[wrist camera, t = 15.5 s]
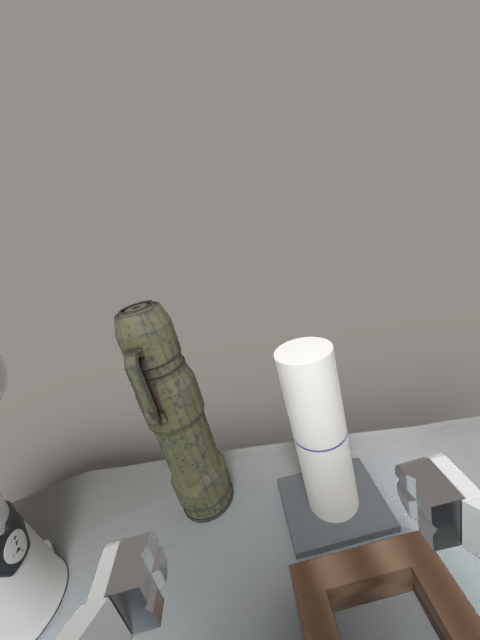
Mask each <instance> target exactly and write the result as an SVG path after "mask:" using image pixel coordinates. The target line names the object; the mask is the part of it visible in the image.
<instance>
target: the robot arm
mask: <svg viewBox="0 0 480 640" xmlns="http://www.w3.org/2000/svg"><path fill="white" fill-rule="evenodd" d="M6 385H7V369H6V365H5V363H4V360H3V358H2V357H1V355H0V400H1V398H2V396H3V394H4V391H5V389H6ZM395 474H396V475H397V477H398V478H399V481H398V483H397V491H398V494H399V497H400V500H401V502H402V504H403V506H404V508H405V510H406V511H407V513H408V514H409V516H410V517H412V518H414V519H416V520H417V521H418V525H419V531H420V532H421V534H422V535H423V537H424V538H425V540H426V541H427V542H428V544H429V545H430V547H431V548H432V550H433V551H438V550H442V549H446V548H451V547H455V546H459V545H462V547H464V548H465V549H467V550H468V551H469V552H471V553H472V554H474V555H475V556H477V557H478V558H480V489H479V488H478V487H477V486H476V485H475V484H474V483H473V482H472V481H471V480H470V479H469V478H468V477H467V476H466V475H465V474H464V473H463V472H462V471H461V470H460V469H459V468H458V467H457V466H456V465H455V464H454V463H452V462H451V461H450V460H449V459H448V458H447V457H446V456H445V455H444V454H442V453H438V454H435V455H431V456H427V457H423V458H419V459H416V460H412V461H409V462H405V463H402V464H398V465H396V467H395ZM157 541H158V538H157V536H156V535H155V533H154V532H151V533H147V534H143V535H139V536H134V537H130V538H126V539H122V540H119V541H115V542H111V543H107V544H106V546H105V547H104V549H103V551H102V554H101V557H100V561H99V564H98V567H97V570H96V573H95V576H94V579H93V582H92V585H91V588H90V591H89V594H88V597H87V600H86V603H84V604H81V605H80V606H79V607H78V609H77V610H76V611H75V613H74V614H73V615H72V616H71V618H70V619H69V620H68V622H67V623H66V624H65V626H64V627H63V628H62V629H61V631H60V632H59V633H58V635H57V636H56V637H55V638H54V640H132V638H133V636H132V635H135V634H138V633H142V632H145V631H148V630H151V629H154V628H158V627H161V620H162V612H163V604H164V599H163V597H162V595H161V593H160V592H161V590H162V589H163V587H164V586H165V584H166V579H167V560H166V556H165V553H164V551H163V548H161V547H159V546H157ZM67 577H68V572H67V566H66V564H65V562H64V561H63V559H61V558H60V557H59V556H57V555H56V554H55V553H54V549H53V545H52V543H51V542H50V541H49V540H47V539H46V540H42V539H41V538H40V536H39V535H38V534H37V533H36V532H35V531H34V530H33V529H32V528H31V527H30V526H29V525H28V524H27V523H26V522H25V521H24V520H23V518H22V517H21V515H20V514H19V511H18V509H17V508H16V507H14V506H13V505H12V503H10V502H9V501H6V500H4V499H3V497H2V496H1V494H0V640H36V639H37V637H38V636H39V635H40V634H41V632H42V631H43V630H44V628H45V627H46V625H47V624H48V623H49V621H50V620H51V618H52V616H53V615H54V613H55V611H56V609H57V607H58V606H59V603H60V601H61V599H62V597H63V594H64V591H65V588H66V584H67Z"/></svg>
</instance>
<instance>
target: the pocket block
mask: <svg viewBox="0 0 480 640" xmlns="http://www.w3.org/2000/svg"><path fill="white" fill-rule="evenodd" d="M289 568H290V572H291V577H292V581H293V586H294V590H295V595H296V600H297V604H298V609H299V613H300V618H301V622H302V627H303V631H304V636H305V640H341V639H340V636H339V633H338V629H337V626H336V623H335V620H334V616H333V613H332V612H335V611H339V610H342V609H346V608H350V607H354V606H357V605H361V604H365V603H368V602H372V601H376V600H380V599H383V598H387V597H391V596H394V595H398V594H402V593H406V592H409V591H413V590H414V592H415V594H416V596H417V598H418V600H419V601H420V603H421V605H422V607H423V609H424V611H425V612H426V614H427V616H428V618H429V620H430V622H431V624H432V625H433V627H434V629H435V631H436V633H437V635H438V637H439V638H440V640H480V617H479V616H478V614H477V613H476V611H475V610H474V608H473V607H472V605H471V604H470V602H469V601H468V599H467V598H466V596H465V595H464V593H463V592H462V590H461V589H460V587H459V586H458V584H457V583H456V581H455V580H454V578H453V577H452V575H451V574H450V572H449V571H448V569H447V568H446V566H445V565H444V563H443V562H442V560H441V559H440V557H439V556H438V554H437V553H436V551H433V550H432V548H431V547H430V545H429V544H428V542H427V541H426V540H425V538H424V537H423V535H422V534H421V532H420V531H415V532H411V533H408V534H404V535H400V536H396V537H393V538H389V539H385V540H382V541H378V542H374V543H370V544H367V545H363V546H359V547H356V548H352V549H348V550H344V551H341V552H337V553H333V554H330V555H326V556H322V557H318V558H315V559H311V560H307V561H304V562H300V563H296V564H292V565H289Z"/></svg>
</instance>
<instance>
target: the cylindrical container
mask: <svg viewBox="0 0 480 640" xmlns="http://www.w3.org/2000/svg"><path fill="white" fill-rule="evenodd" d="M274 359H275V363H276V367H277V372H278V376H279V380H280V384H281V389H282V392H283V397H284V401H285V405H286V409H287V413H288V418H289V422H290V426H291V430H292V434H293V438H294V442H295V447H296V451H297V455H298V459H299V463H300V468H301V472H302V476H303V480H304V484H305V488H306V493H307V497H308V501H309V505H310V508H311V510H312V511H313V513H314V514H315V515H316V516H317V517H318V518H320V519H322V520H324V521H326V522H330V523H341V522H345V521H347V520H349V519H350V518H352V517H353V516H354V515H355V514H356V512H357V510H358V507H359V499H358V493H357V487H356V481H355V475H354V469H353V463H352V457H351V451H350V445H349V439H348V433H347V428H346V421H345V415H344V409H343V403H342V397H341V392H340V386H339V379H338V373H337V367H336V362H335V355H334V349H333V345H332V343H331V342H330V341H328V340H327V339H324V338H320V337H303V338H298V339H294V340H291V341H288V342H286V343H284V344H282V345H281V346H279V347H278V348H277V349H276V350H275V352H274Z"/></svg>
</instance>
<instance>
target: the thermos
mask: <svg viewBox="0 0 480 640" xmlns="http://www.w3.org/2000/svg"><path fill="white" fill-rule="evenodd" d="M114 322H115V336H116V339H117V342H118V344H119V347H120V349H121V351H122V354H123V356H124V364H125V371H126V373H127V376H128V378H129V381H130V383H131V385H132V387H133V390H134V392H135V396H136V399H137V402H138V404H139V406H140V409H141V411H142V413H143V416H144V418H145V420H146V423H147V425H148V427H149V429H150V430H151V431H153V432H154V433H155V435H156V437H157V440H158V442H159V445H160V447H161V450H162V452H163V454H164V457H165V459H166V461H167V464H168V466H169V469H170V471H171V473H172V475H171V483H172V485H173V488H174V490H175V492H176V495H177V497H178V499H179V501H180V503H181V505H182V507H184V511H185V513H186V515H187V517H188V518H190V519H191V520H192V521H195V522H199V523H202V522H209V521H211V520H214V519H216V518H218V517H219V516H220V515H222V514H223V513H224V512H225V511H226V510H227V508H228V507H229V506H230V504H231V501H232V499H233V488H232V485H231V482H230V476H229V473H228V470H227V467H226V464H225V461H224V458H223V456H222V454H221V453H220V452H219V451H218V450H217V448H216V445H215V442H214V439H213V436H212V434H211V431H210V428H209V425H208V422H207V419H206V416H205V413H204V401H203V398H202V395H201V392H200V389H199V386H198V383H197V381H196V377H195V375H194V372H193V371H192V370H191V369H190V367H189V366H188V365H187V364H186V361H185V358H184V356H182V354H181V347H180V344H179V341H178V338H177V335H176V333H175V330H174V327H173V324H172V321H171V318H170V317H169V315H168V314H167V312H166V311H165V310H164V308H163V307H162V306H161V305H160V303H159V302H156V301H154V302H153V301H152V300H149V301H143V302H139V303H135V304H132V305H130V306H128V307H126V308H123V309H121V310H120V311H119V312H118V314H116V315H115V317H114Z"/></svg>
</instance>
